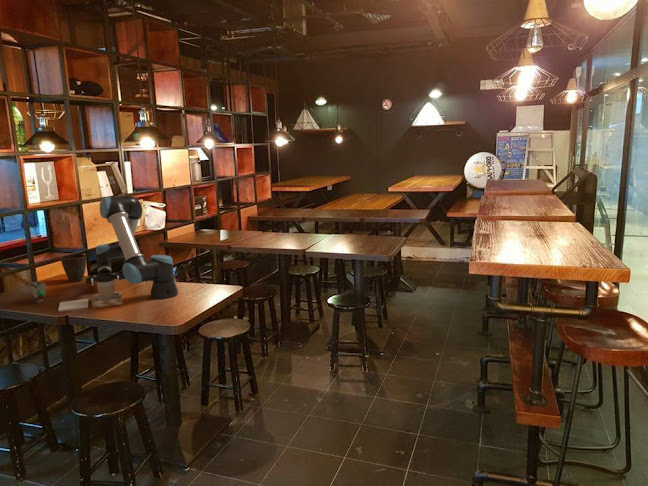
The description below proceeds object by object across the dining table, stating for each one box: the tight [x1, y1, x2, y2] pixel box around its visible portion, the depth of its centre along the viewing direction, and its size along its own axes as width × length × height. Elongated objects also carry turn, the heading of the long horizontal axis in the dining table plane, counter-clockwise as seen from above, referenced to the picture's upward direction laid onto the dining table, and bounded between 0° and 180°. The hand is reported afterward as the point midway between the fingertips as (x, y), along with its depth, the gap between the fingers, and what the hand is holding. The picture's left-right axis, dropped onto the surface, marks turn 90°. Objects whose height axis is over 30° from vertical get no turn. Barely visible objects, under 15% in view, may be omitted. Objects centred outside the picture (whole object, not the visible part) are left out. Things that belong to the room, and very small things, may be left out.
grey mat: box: [57, 298, 89, 312], centre depth 267 cm, size 14×14×1 cm
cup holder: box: [91, 291, 124, 309], centre depth 273 cm, size 15×15×3 cm
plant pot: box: [59, 253, 87, 283], centre depth 316 cm, size 15×15×16 cm
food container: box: [29, 281, 47, 304], centre depth 276 cm, size 12×6×10 cm, turn 47°
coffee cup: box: [95, 274, 115, 301], centre depth 272 cm, size 9×9×15 cm
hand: (105, 282), depth 280 cm, fingers open, 13 cm apart
